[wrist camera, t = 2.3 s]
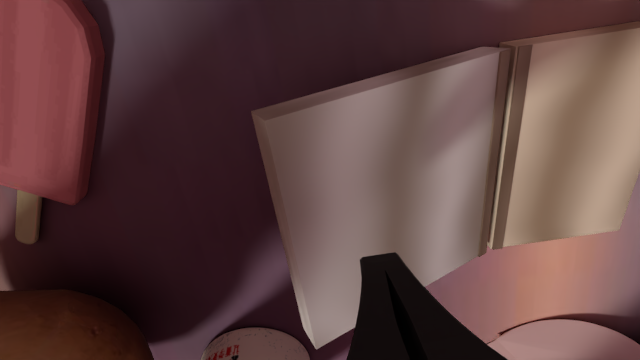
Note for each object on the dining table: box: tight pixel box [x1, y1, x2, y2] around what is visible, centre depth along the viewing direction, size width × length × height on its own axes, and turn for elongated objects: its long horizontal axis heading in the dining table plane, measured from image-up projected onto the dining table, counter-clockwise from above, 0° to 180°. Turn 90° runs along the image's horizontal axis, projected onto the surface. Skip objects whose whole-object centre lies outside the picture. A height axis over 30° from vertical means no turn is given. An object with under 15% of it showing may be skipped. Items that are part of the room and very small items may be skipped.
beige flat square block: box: [251, 47, 511, 350], centre depth 17 cm, size 12×12×2 cm
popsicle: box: [0, 0, 105, 244], centre depth 18 cm, size 5×2×15 cm
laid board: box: [487, 21, 640, 249], centre depth 19 cm, size 8×12×2 cm, turn 8°
